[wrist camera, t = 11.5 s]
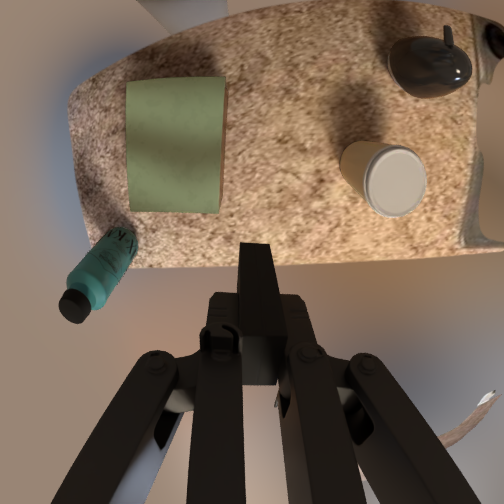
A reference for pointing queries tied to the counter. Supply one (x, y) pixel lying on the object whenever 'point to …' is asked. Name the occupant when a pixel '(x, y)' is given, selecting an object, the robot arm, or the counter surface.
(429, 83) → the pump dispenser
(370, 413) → the robot arm
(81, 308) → the beverage bottle
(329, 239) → the counter surface
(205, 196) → the lid
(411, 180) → the coffee cup
